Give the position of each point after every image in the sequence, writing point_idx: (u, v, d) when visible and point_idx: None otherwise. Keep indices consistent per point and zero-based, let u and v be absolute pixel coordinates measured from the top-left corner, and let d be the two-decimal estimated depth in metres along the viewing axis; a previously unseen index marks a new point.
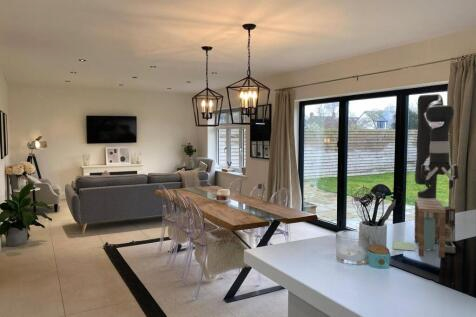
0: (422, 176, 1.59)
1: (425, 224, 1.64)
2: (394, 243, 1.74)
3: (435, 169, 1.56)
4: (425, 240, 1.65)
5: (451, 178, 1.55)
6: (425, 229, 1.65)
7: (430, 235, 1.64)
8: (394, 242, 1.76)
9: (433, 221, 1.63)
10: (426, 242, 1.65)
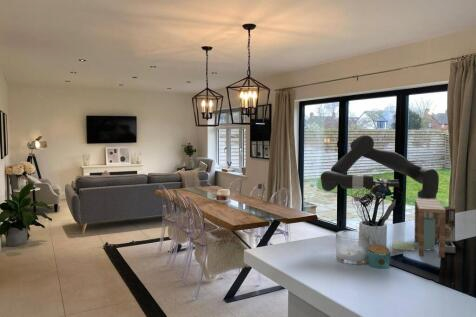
0: None
1: (425, 224, 1.64)
2: (394, 243, 1.74)
3: None
4: (425, 240, 1.65)
5: (388, 186, 1.67)
6: (425, 229, 1.65)
7: (430, 235, 1.64)
8: (394, 242, 1.76)
9: (433, 221, 1.63)
10: (426, 242, 1.65)
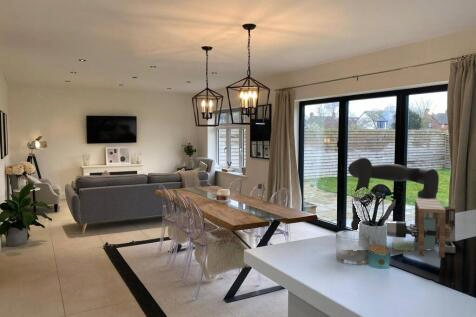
0: None
1: (425, 224, 1.64)
2: (394, 243, 1.74)
3: None
4: (425, 240, 1.65)
5: None
6: (425, 229, 1.65)
7: None
8: (394, 242, 1.76)
9: (433, 221, 1.63)
10: (426, 242, 1.65)
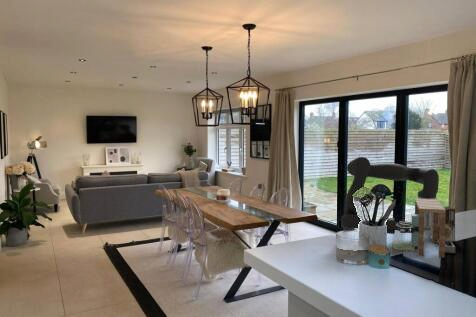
0: None
1: (413, 220, 1.66)
2: (394, 243, 1.74)
3: None
4: (413, 236, 1.67)
5: None
6: (413, 225, 1.66)
7: (418, 232, 1.66)
8: (394, 242, 1.76)
9: None
10: (414, 238, 1.67)
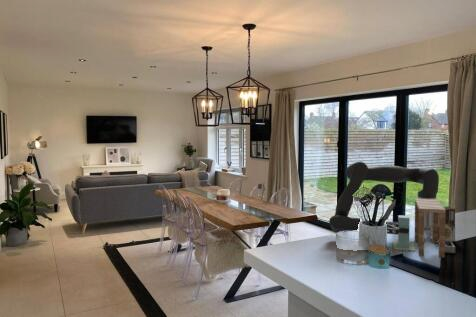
0: None
1: (400, 221, 1.68)
2: (394, 243, 1.74)
3: None
4: (400, 237, 1.69)
5: None
6: (400, 227, 1.69)
7: (404, 233, 1.68)
8: (394, 242, 1.76)
9: (407, 219, 1.67)
10: (401, 239, 1.69)
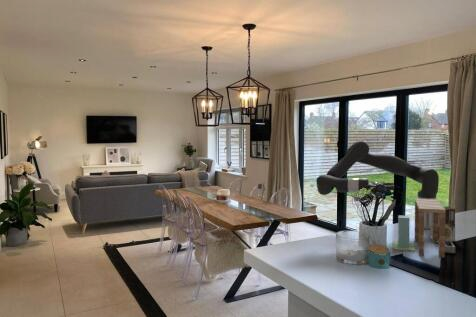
0: None
1: (400, 221, 1.68)
2: (394, 243, 1.74)
3: None
4: (400, 237, 1.69)
5: None
6: (400, 227, 1.69)
7: (404, 233, 1.68)
8: (394, 242, 1.76)
9: (407, 219, 1.67)
10: (401, 239, 1.69)
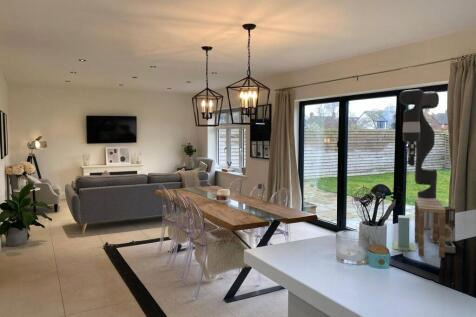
0: (407, 153, 1.81)
1: (400, 221, 1.68)
2: (394, 243, 1.74)
3: None
4: (400, 237, 1.69)
5: (409, 156, 1.71)
6: (400, 227, 1.69)
7: (404, 233, 1.68)
8: (394, 242, 1.76)
9: (407, 219, 1.67)
10: (401, 239, 1.69)
